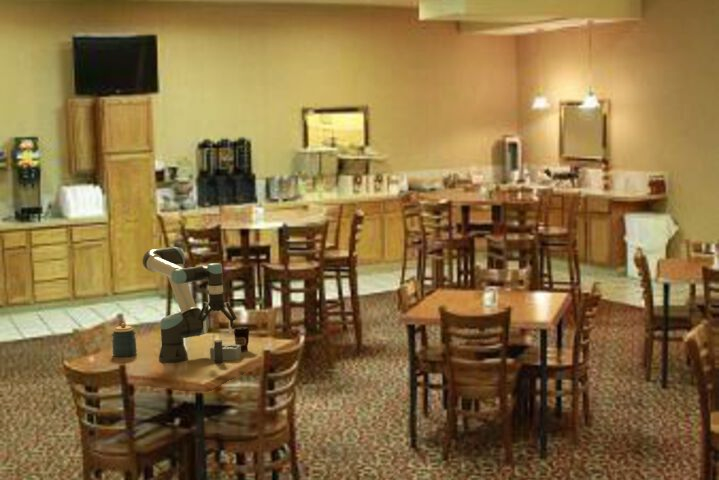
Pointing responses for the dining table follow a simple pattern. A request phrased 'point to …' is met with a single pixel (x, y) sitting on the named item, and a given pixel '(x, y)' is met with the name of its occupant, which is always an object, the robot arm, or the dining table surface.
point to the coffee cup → (242, 337)
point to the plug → (218, 351)
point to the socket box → (227, 352)
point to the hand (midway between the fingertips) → (217, 333)
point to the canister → (124, 341)
